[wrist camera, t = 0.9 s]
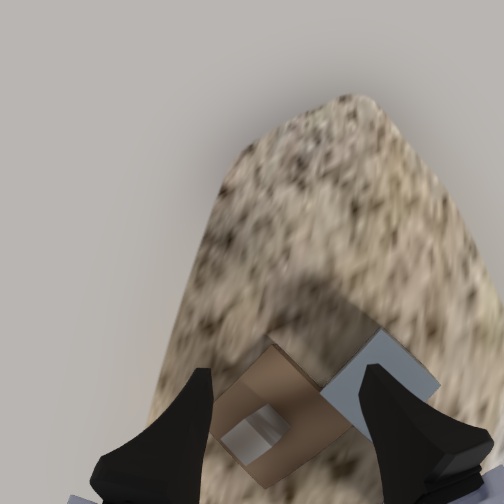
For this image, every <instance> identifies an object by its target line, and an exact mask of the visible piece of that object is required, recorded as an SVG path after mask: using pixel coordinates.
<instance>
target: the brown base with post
mask: <svg viewBox="0 0 504 504" xmlns="http://www.w3.org/2000/svg"><path fill="white" fill-rule="evenodd" d="M321 391H322V389H321V388H320V387H319V386H318V385H317V384H316V383H315V382H314V381H313V380H312V379H311V378H310V377H309V376H308V375H307V374H306V373H305V372H304V371H303V370H302V369H301V368H300V367H299V366H298V365H297V364H296V363H295V362H294V361H293V360H292V359H291V358H290V357H289V356H288V355H287V354H286V353H285V352H284V351H283V350H282V349H281V348H280V347H279V346H278V345H277V344H273V345H271V346H270V347H269V348H268V349H267V350H266V351H265V352H264V353H263V354H262V355H261V356H260V357H259V358H258V359H257V360H256V361H255V362H254V363H253V364H252V365H251V367H250V368H249V369H248V370H247V371H246V372H245V373H244V374H243V375H242V376H241V377H240V378H239V379H238V380H237V381H236V382H235V383H234V384H232V385H231V386H230V387H229V388H228V389H227V390H226V391H225V392H224V393H223V394H222V395H221V396H220V397H219V398H218V399H217V400H216V401H215V402H214V403H213V412H212V420H211V425H210V429H209V432H210V433H211V434H212V435H213V436H214V437H215V438H216V440H217V441H218V442H219V443H220V444H221V445H222V446H223V447H224V448H225V449H226V451H227V452H228V453H229V454H230V455H231V456H232V457H233V458H234V459H235V460H236V461H237V462H238V463H239V464H240V465H241V466H242V467H243V468H244V469H245V470H246V471H247V472H248V473H249V474H250V475H251V476H252V477H253V478H254V479H255V480H256V481H257V482H258V483H259V484H260V485H261V486H262V487H263V488H264V489H267V488H268V487H270V486H272V485H273V484H275V483H276V482H278V481H279V480H281V479H283V478H284V477H286V476H287V475H289V474H290V473H292V472H293V471H294V470H296V469H297V468H299V467H300V466H302V465H303V464H304V463H306V462H307V461H309V460H310V459H311V458H313V457H314V456H315V455H317V454H318V453H319V452H321V451H322V450H323V449H325V448H326V447H327V446H329V445H330V444H331V443H332V442H334V441H335V440H336V439H337V438H339V437H340V436H341V435H342V434H343V433H345V432H346V431H347V430H348V429H349V428H350V427H352V426H353V424H352V423H350V422H349V421H348V420H347V419H346V418H345V417H344V416H343V415H342V414H341V413H340V412H339V411H338V410H337V409H336V408H335V407H333V406H332V405H331V404H330V403H329V402H328V401H327V400H326V399H325V398H324V397H323V396H322V395H321V394H320V392H321Z"/></svg>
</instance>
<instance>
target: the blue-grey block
mask: <svg viewBox="0 0 504 504" xmlns="http://www.w3.org/2000/svg"><path fill="white" fill-rule="evenodd" d="M376 363H379V364H380V365H381V366H382V367H383V368H385V369H386V370H387V371H388V372H389V373H390V374H391V375H392V376H393V377H394V378H395V379H397V380H398V381H399V382H400V383H401V384H402V385H403V386H404V387H406V388H407V389H408V390H409V391H410V392H412V393H413V394H414V395H415V396H417V397H418V398H419V399H421V400H422V401H423V402H426V401H427V400H428V399H429V398H430V397H431V396H432V395H433V394H434V393H435V391H436V390H437V389H438V388H439V387H440V386H441V385H440V383H439V382H438V381H437V380H436V379H435V377H434V376H433V375H432V374H431V373H430V372H429V370H428V369H427V368H426V367H425V366H424V365H423V364H422V363H421V362H419V361H418V360H417V359H416V358H415V357H414V356H413V355H412V354H411V353H410V352H409V351H408V350H407V349H406V348H404V347H403V346H402V345H401V344H400V343H399V342H398V341H397V340H396V339H395V338H394V337H393V336H392V335H390V334H389V333H388V332H387V331H386V330H385V329H384V328H383V327H382V326H380V328H379V329H378V330H377V331H376V332H375V333H374V334H373V335H372V337H371V338H370V339H369V340H368V341H367V342H366V343H365V344H364V345H363V346H362V347H361V349H360V350H359V351H358V352H357V353H356V354H355V355H354V356H353V357H352V358H351V359H350V360H349V361H348V362H347V363H346V364H345V365H344V366H343V367H342V368H341V369H340V370H339V371H338V372H337V373H336V374H335V375H334V377H333V378H332V379H331V380H330V381H329V383H328V384H327V385H326V386H325V387H324V388H323V389H322V391H321V392H320V394H321V395H322V396H323V397H324V398H325V399H326V400H327V401H328V402H329V403H330V404H331V405H332V406H333V407H335V408H336V409H337V410H338V411H339V412H340V413H341V414H342V415H343V416H344V417H345V418H346V419H347V420H348V421H349V422H350V423H352V424H353V425H354V426H355V427H356V428H357V429H358V430H359V431H360V432H361V433H362V434H364V435H365V436H366V437H367V438H368V439H369V440H370V441H371V442H372V439H371V436H370V433H369V431H368V428H367V425H366V423H365V420H364V417H363V414H362V411H361V407H360V402H359V397H358V393H359V390H360V386H361V383H362V380H363V377H364V373H365V370H366V366H367V364H376ZM372 443H373V442H372Z"/></svg>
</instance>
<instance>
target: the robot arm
mask: <svg viewBox="0 0 504 504" xmlns="http://www.w3.org/2000/svg"><path fill="white" fill-rule="evenodd" d="M358 397H359V402H360V407H361V411H362V414H363V417H364V420H365V423H366V425H367V428H368V431H369V433H370V436H371V439H372V442H373V444H374V447H375V451H376V454H377V458H378V463H379V468H380V474H381V480H382V487H383V495H384V503H383V504H504V467H503V465H499V466H498V467H496V468H494V469H492V470H490V471H488V472H487V473H485V474H484V475H482V476H481V475H480V473H479V472H480V471H481V470H482V468H481V466H480V463H481V462H482V461H483V460H484V459H485V457H486V456H487V455H488V454H489V453H490V451H491V450H492V448H493V446H494V441H493V439H492V438H491V436H490V434H489V433H488V431H487V430H485V429H482V428H478V427H474V426H471V425H468V424H465V423H462V422H460V421H457V420H455V419H453V418H451V417H449V416H447V415H445V414H443V413H441V412H439V411H437V410H436V409H434V408H432V407H431V406H429V405H428V404H426V403H425V402H423V401H422V400H421V399H419V398H418V397H417V396H415V395H414V394H413V393H412V392H410V391H409V390H408V389H407V388H406V387H404V386H403V385H402V384H401V383H400V382H399V381H398V380H397V379H395V378H394V377H393V376H392V375H391V374H390V373H389V372H388V371H387V370H386V369H385V368H383V367H382V366H381V365H380V364H379V363H376V364H367V366H366V370H365V373H364V377H363V380H362V383H361V386H360V390H359V393H358ZM213 401H214V397H213V388H212V378H211V368H196V369H195V370H194V372H193V374H192V376H191V377H190V379H189V380H188V382H187V383H186V385H185V386H184V388H183V389H182V391H181V392H180V393H179V395H178V396H177V397H176V399H175V400H174V401H173V402H172V403H171V405H170V406H169V407H168V408H167V409H166V410H165V411H164V412H163V414H162V415H161V416H160V417H159V418H158V419H157V420H155V421H154V422H153V423H152V424H151V425H150V426H149V427H148V428H146V429H145V430H144V431H143V432H142V433H140V434H139V435H138V436H136V437H135V438H133V439H132V440H130V441H129V442H127V443H126V444H124V445H123V446H121V447H120V448H117V449H116V450H113V451H112V452H110V453H108V454H106V455H103V456H101V457H100V459H99V461H98V463H97V464H96V466H95V468H94V471H93V473H92V476H91V478H90V485H91V486H92V488H93V489H94V491H95V492H96V493H97V494H98V495H99V496H100V497H101V498H102V499H103V503H102V504H199V500H200V486H201V474H202V463H203V457H204V452H205V448H206V443H207V439H208V434H209V429H210V425H211V420H212V412H213ZM67 504H97V503H95V502H92V501H89V500H86V499H83V498H81V497H78V496H75V495H70V498H69V501H68V503H67Z"/></svg>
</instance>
